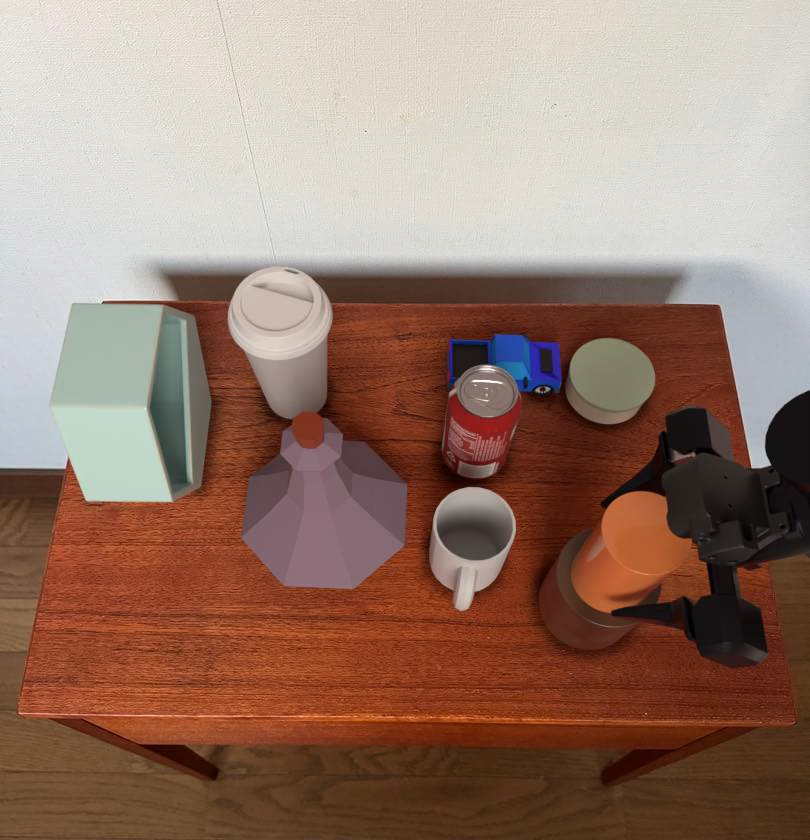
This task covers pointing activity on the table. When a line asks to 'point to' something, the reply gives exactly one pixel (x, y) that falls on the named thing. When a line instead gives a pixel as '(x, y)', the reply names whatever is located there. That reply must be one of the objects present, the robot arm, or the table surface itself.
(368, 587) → the table surface
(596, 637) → the metal cylinder
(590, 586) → the orange cylinder
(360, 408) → the table surface
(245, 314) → the coffee cup
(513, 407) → the soda can
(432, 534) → the cup
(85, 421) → the planter
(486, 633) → the table surface
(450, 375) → the toy car
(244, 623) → the table surface
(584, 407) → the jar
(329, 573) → the flask
